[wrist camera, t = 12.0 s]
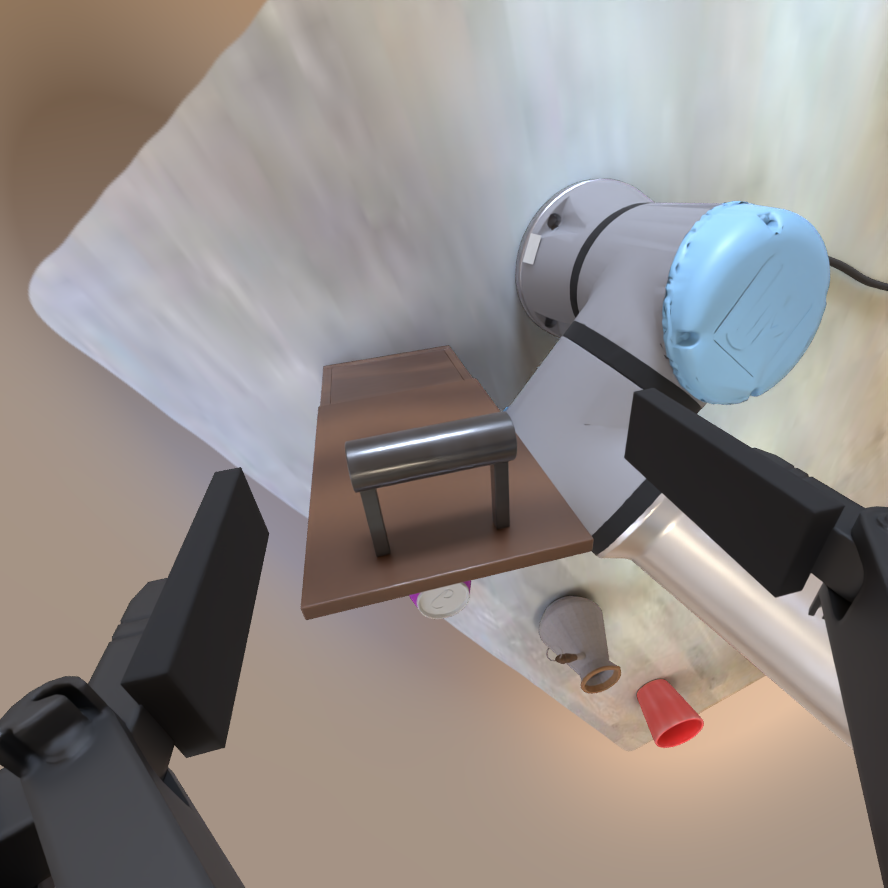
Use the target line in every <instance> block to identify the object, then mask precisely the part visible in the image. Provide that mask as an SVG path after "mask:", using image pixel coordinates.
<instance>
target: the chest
mask: <svg viewBox="0 0 888 888" xmlns="http://www.w3.org/2000/svg"><path fill="white" fill-rule="evenodd" d="M469 379H473V378H472V376H471V375H470V373H469V372H468V371H467V369H466V368H465V367H464V365H463V364H462V362H461V361H460V360H459V358H458V357H457V356H456V354H455V353H454V351H453V350H452V349H451V347H450V346H449V345H448V346H442V347H436V348H430V349H424V350H418V351H412V352H406V353H400V354H394V355H388V356H382V357H376V358H370V359H364V360H358V361H352V362H347V363H341V364H335V365H329V366H324V367H323V379H322V390H321V402H320V406H324V405H330V404H335V403H341V402H347V401H352V400H358V399H363V398H369V397H374V396H380V395H386V394H391V393H397V392H402V391H408V390H413V389H419V388H424V387H430V386H436V385H441V384H447V383H452V382H458V381H463V380H469Z"/></svg>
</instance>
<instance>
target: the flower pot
mask: <svg viewBox="0 0 888 888" xmlns="http://www.w3.org/2000/svg"><path fill="white" fill-rule="evenodd" d="M637 698H638V701H639V704H640V706H641V709H642V712H643V714H644V717H645V719H646V722H647V724H648V727H649V729H650V732H651V734H652V737H653V739H654V741H655V744H656V745H657V746H658V747H663V748H669V747H674V746H677V745H680V744H682V743H685V742H687V741H688V740H690V739H692V738H693V737H694V736H696V735H697V734H698V733H699V732H700V731H701V729H702V728H703V726H704V722H703V720H702V719H701V717H700V716H699V715H698V714H697V713H696V712H695V710H694V709H693V708H692V707H691V706H690V705H689V704H688V703H687V702H686V701H685V700H684V698H683V697H682V696H681V695H680V694H679V693H678V692H677V691H676V690H675V689H674V688H673V687H672V686H671V685H670V684H669V683H668V682H667V681H666V680H664V679H657V680H653V681H651V682H648V683H647V684H645V685H644V686H643V687H642V688H640V689H639V690H638V692H637Z"/></svg>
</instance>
